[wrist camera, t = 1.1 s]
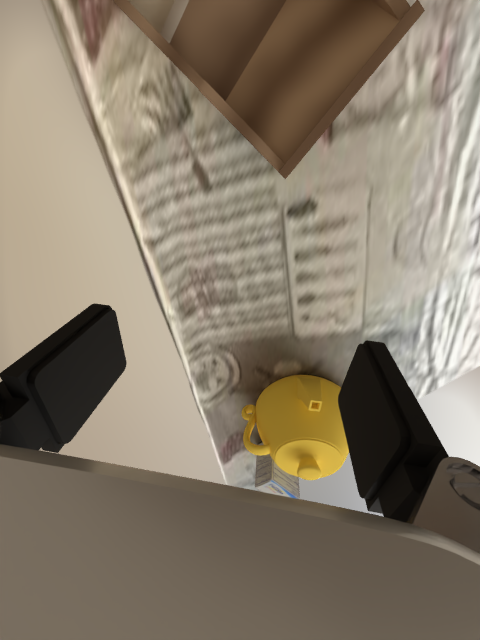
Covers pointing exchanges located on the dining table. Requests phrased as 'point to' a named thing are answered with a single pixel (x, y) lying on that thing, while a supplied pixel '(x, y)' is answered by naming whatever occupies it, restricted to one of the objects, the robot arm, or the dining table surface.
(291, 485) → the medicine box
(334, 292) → the dining table surface
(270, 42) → the lane
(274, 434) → the teapot
